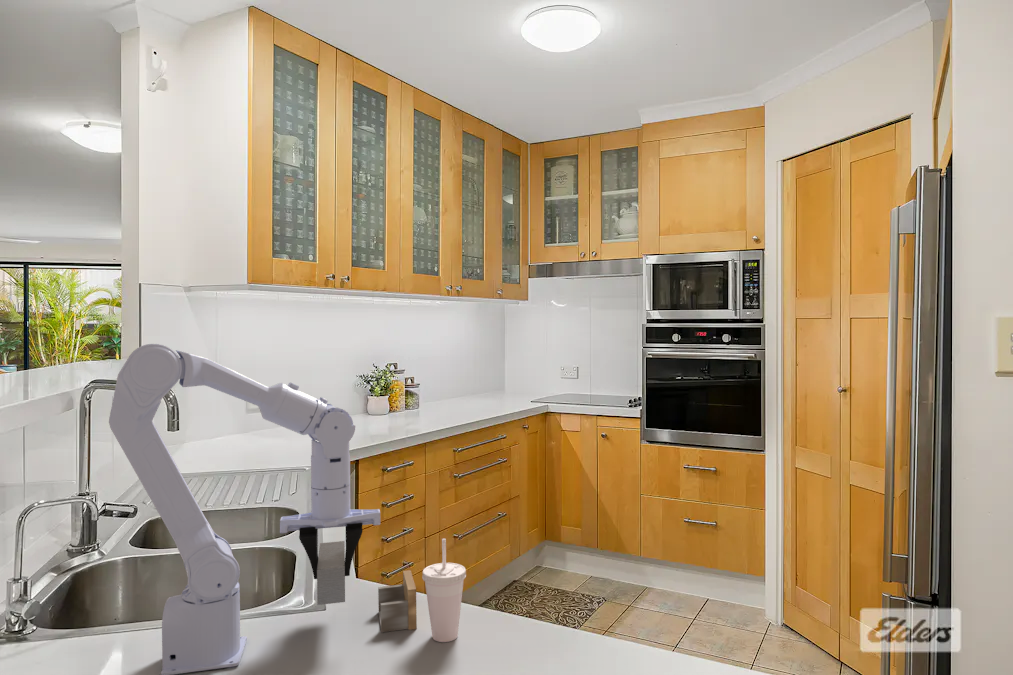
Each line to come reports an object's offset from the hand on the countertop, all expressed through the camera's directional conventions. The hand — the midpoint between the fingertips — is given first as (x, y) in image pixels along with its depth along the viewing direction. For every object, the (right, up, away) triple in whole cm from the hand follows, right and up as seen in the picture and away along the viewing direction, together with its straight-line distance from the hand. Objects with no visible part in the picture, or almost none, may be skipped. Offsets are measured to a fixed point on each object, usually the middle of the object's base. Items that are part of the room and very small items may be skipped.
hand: (331, 575), depth 96 cm
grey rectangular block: (0, -2, 0) cm, 2 cm away
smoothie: (+17, -8, -3) cm, 19 cm away
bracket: (+9, -8, +2) cm, 12 cm away
